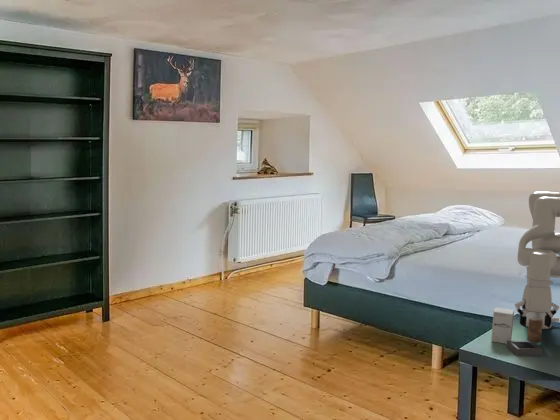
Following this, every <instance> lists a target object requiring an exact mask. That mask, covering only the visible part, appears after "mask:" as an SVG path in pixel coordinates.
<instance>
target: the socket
mask: <svg viewBox="0 0 560 420" xmlns="http://www.w3.org/2000/svg"><path fill="white" fill-rule="evenodd" d="M506 348H507V349H508V350H510V351H512V352H513V354H514V355H516V356H518V357H520V356H522V357H523V356H524V357H525V356H527V357H542V348H540V346H536V345H535V344H533V343H532V342H531V341H527V340H511V341H507V344H506Z"/></svg>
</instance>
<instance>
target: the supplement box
mask: <svg viewBox="0 0 560 420" xmlns="http://www.w3.org/2000/svg"><path fill="white" fill-rule="evenodd" d="M514 314H515V310H514V309H507V308H503V307H497V306H496V307H494V310H493V316H492V325H491V326H492V327H491V338H490V339H491V340H490V342H491V341H492V342H493V343H499V344H505V345H507V341H512V336H513V327H514V326H513V325H514V317H515V316H514Z"/></svg>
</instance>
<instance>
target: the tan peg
mask: <svg viewBox="0 0 560 420" xmlns="http://www.w3.org/2000/svg"><path fill="white" fill-rule="evenodd" d="M542 323H543V320H541V319H538V318H529V322H528V327H527V334H526V335H527V338H526V341H531V342H532V343H533V344H535V345H536V346H537V347H540V346H542V345H541V344H542V334H543V333H542V332H543V331H542V330H543V329H542Z"/></svg>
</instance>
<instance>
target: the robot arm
mask: <svg viewBox="0 0 560 420" xmlns="http://www.w3.org/2000/svg"><path fill="white" fill-rule="evenodd" d="M528 208H529V212H530V215H531V218H532V227H531V228H529V229H527V231H525V233H523V235H522V236H521V238H520V240H519V242H518V249H517V262H518V264H519V266H523V267H525V268H526V285H525V287H524V289H523V294H522V299H521V300H520V301H519V302H517V303H515V304H514V307H515V309H516V312H517V313H518V314H519V316H520V317H519V324H520V326H522V327H527V328H528V322H529V318H538V319H541V320H543V323H542V330H548V329H552V322H554V323H559V322H560V318H559V317H555V314H556V313H557V311H558V310H559V308H560V306H559V305H557V304H556V303H554V302H552V300H553V299H552V297H553V295H552V290H551V285H553V283H554V282H553V281H552V280H551V279H550V278H552V279H558V280H559V279H560V232H557V231H556V232H555V229H556V218H560V192H558V191H557V192H556V191H535V192H532V193H530V194H529V196H528ZM530 242H531V248H530V247H527V245H528V243H530ZM557 255H558V256H557ZM552 307H553V308H552Z"/></svg>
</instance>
